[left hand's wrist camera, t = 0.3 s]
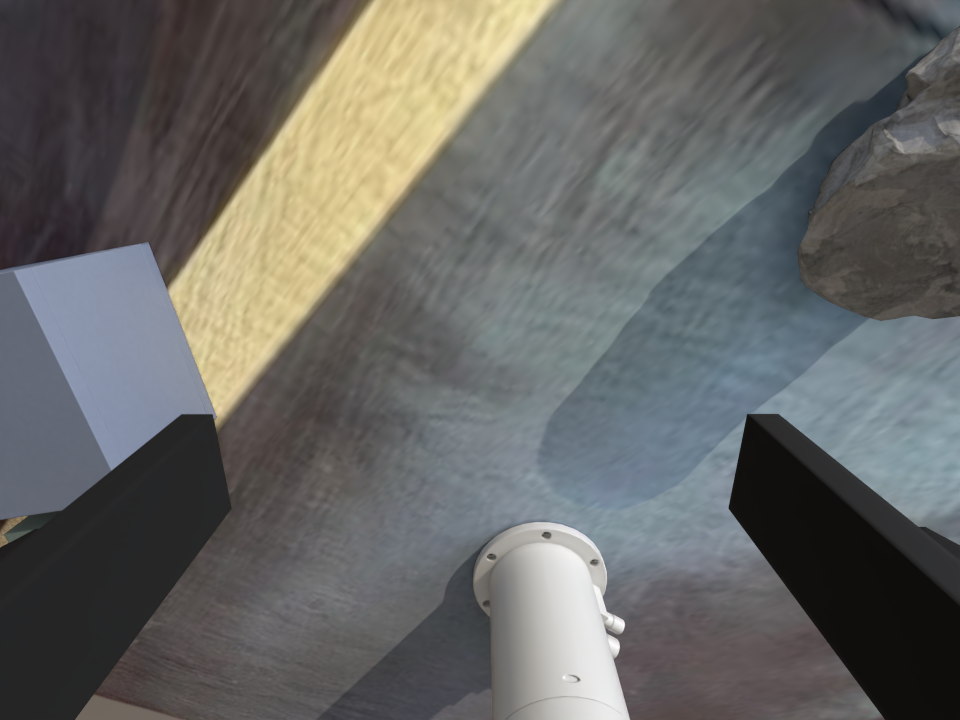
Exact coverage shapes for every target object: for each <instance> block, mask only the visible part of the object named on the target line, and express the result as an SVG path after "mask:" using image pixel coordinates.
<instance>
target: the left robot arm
mask: <svg viewBox="0 0 960 720" xmlns="http://www.w3.org/2000/svg"><path fill="white" fill-rule="evenodd" d="M230 510H231V503H230V498H229V493H228V488H227V483H226V478H225V473H224V468H223V463H222V458H221V453H220V448H219V443H218V438H217V433H216V428H215V423H214V418H213V414H181V415H180V416H179V417H177V418H176V419H175V420H174V421H172V422H171V423H170V424H169V425H167V426H166V427H165V428H164V429H162V430H161V431H160V432H159V433H158V434H156V435H155V436H154V437H153V438H151V439H150V440H149V441H148V442H146V443H145V444H144V445H143V446H141V447H140V448H139V449H138V450H136V451H135V452H134V453H133V454H131V455H130V456H129V457H128V458H127V459H125V460H124V461H123V462H122V463H120V464H119V465H118V466H117V467H115V468H114V469H113V470H112V471H110V472H109V473H108V474H107V475H105V476H104V477H103V478H102V479H101V480H99V481H98V482H97V483H96V484H94V485H93V486H92V487H91V488H89V489H88V490H87V491H86V492H84V493H83V494H82V495H81V496H79V497H78V498H77V499H76V500H74V501H73V502H72V503H71V504H70V505H68V506H67V507H66V508H65V509H63V510H62V511H61V512H60V513H58V514H57V515H56V516H55V517H53V518H52V519H51V520H50V521H48V522H47V523H46V524H45V525H44V526H42V527H41V528H40V529H34V530H32V531H30V532H29V533H27V534H25V535H23V536H21V537H19V538H17V539H15V540H14V541H12V542H10V543H8V544H6V545H4V546H2V547H1V548H0V720H75V719H76V717H77V716H78V715H79V713H80V712H81V711H82V709H83V708H84V707H85V705H86V704H87V703H88V701H89V700H90V698H91V697H92V696H93V694H94V693H95V692H96V690H97V689H98V688H99V686H100V685H101V684H102V682H103V681H104V680H105V678H106V677H107V676H108V674H109V673H110V672H111V670H112V669H113V667H114V666H115V665H116V663H117V662H118V661H119V659H120V658H121V657H122V655H123V654H124V653H125V651H126V650H127V649H128V647H129V646H130V645H131V643H132V642H133V640H134V639H135V638H136V636H137V635H138V634H139V632H140V631H141V630H142V628H143V627H144V626H145V624H146V623H147V622H148V620H149V619H150V618H151V616H152V615H153V614H154V612H155V611H156V609H157V608H158V607H159V605H160V604H161V603H162V601H163V600H164V599H165V597H166V596H167V595H168V593H169V592H170V591H171V589H172V588H173V587H174V585H175V584H176V583H177V581H178V580H179V578H180V577H181V576H182V574H183V573H184V572H185V570H186V569H187V568H188V566H189V565H190V564H191V562H192V561H193V560H194V558H195V557H196V556H197V554H198V553H199V551H200V550H201V549H202V547H203V546H204V545H205V543H206V542H207V541H208V539H209V538H210V537H211V535H212V534H213V533H214V531H215V530H216V529H217V527H218V526H219V525H220V523H221V522H222V520H223V519H224V518H225V516H226V515H227V514H228V512H229V511H230ZM729 510H730V511H731V512H732V514H733V515H734V516H735V518H736V519H737V520H738V522H739V523H740V525H741V526H742V527H743V529H744V530H745V531H746V533H747V534H748V535H749V537H750V538H751V539H752V541H753V542H754V543H755V545H756V546H757V547H758V549H759V550H760V551H761V553H762V554H763V556H764V557H765V558H766V560H767V561H768V562H769V564H770V565H771V566H772V568H773V569H774V570H775V572H776V573H777V574H778V576H779V577H780V578H781V580H782V581H783V583H784V584H785V585H786V587H787V588H788V589H789V591H790V592H791V593H792V595H793V596H794V597H795V599H796V600H797V601H798V603H799V604H800V605H801V607H802V608H803V609H804V611H805V612H806V614H807V615H808V616H809V618H810V619H811V620H812V622H813V623H814V624H815V626H816V627H817V628H818V630H819V631H820V632H821V634H822V635H823V636H824V638H825V639H826V640H827V642H828V643H829V645H830V646H831V647H832V649H833V650H834V651H835V653H836V654H837V655H838V657H839V658H840V659H841V661H842V662H843V663H844V665H845V666H846V667H847V669H848V670H849V672H850V673H851V674H852V676H853V677H854V678H855V680H856V681H857V682H858V684H859V685H860V686H861V688H862V689H863V690H864V692H865V693H866V694H867V696H868V697H869V698H870V700H871V701H872V703H873V704H874V705H875V707H876V708H877V709H878V711H879V712H880V713H881V715H882V716H883V717H884V719H885V720H960V545H958V544H956V543H954V542H952V541H951V540H949V539H947V538H945V537H943V536H941V535H939V534H937V533H936V532H934V531H932V530H930V529H928V528H926V527H918V526H916V525H915V524H914V523H913V522H912V521H910V520H909V519H908V518H907V517H905V516H904V515H903V514H902V513H900V512H899V511H898V510H897V509H895V508H894V507H893V506H892V505H890V504H889V503H888V502H887V501H886V500H884V499H883V498H882V497H881V496H879V495H878V494H877V493H876V492H874V491H873V490H872V489H871V488H869V487H868V486H867V485H866V484H864V483H863V482H862V481H861V480H859V479H858V478H857V477H856V476H855V475H853V474H852V473H851V472H850V471H848V470H847V469H846V468H845V467H843V466H842V465H841V464H840V463H838V462H837V461H836V460H835V459H833V458H832V457H831V456H830V455H829V454H827V453H826V452H825V451H824V450H822V449H821V448H820V447H819V446H817V445H816V444H815V443H814V442H812V441H811V440H810V439H809V438H807V437H806V436H805V435H804V434H802V433H801V432H800V431H799V430H798V429H796V428H795V427H794V426H793V425H791V424H790V423H789V422H788V421H786V420H785V419H784V418H783V417H781V416H780V415H779V414H747V418H746V423H745V428H744V433H743V438H742V443H741V448H740V453H739V458H738V463H737V468H736V473H735V478H734V483H733V488H732V493H731V498H730V503H729Z"/></svg>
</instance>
